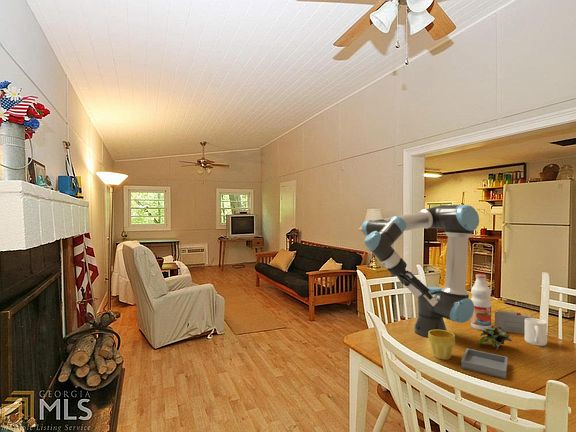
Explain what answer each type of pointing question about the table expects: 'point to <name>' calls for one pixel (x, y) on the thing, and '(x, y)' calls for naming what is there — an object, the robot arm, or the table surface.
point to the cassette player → (511, 321)
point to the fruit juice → (481, 304)
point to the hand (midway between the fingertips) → (426, 299)
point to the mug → (535, 331)
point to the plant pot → (441, 343)
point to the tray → (485, 363)
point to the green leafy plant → (494, 336)
